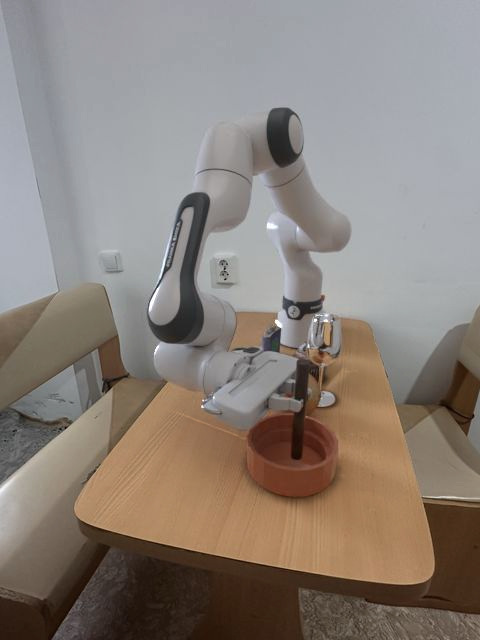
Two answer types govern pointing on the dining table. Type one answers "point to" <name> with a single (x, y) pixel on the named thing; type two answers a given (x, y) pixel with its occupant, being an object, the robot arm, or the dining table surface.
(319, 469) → the bowl
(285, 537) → the dining table surface
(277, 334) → the blue box
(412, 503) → the dining table surface
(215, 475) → the dining table surface
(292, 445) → the stick
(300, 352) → the cupcake
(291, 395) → the onion
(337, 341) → the wineglass
